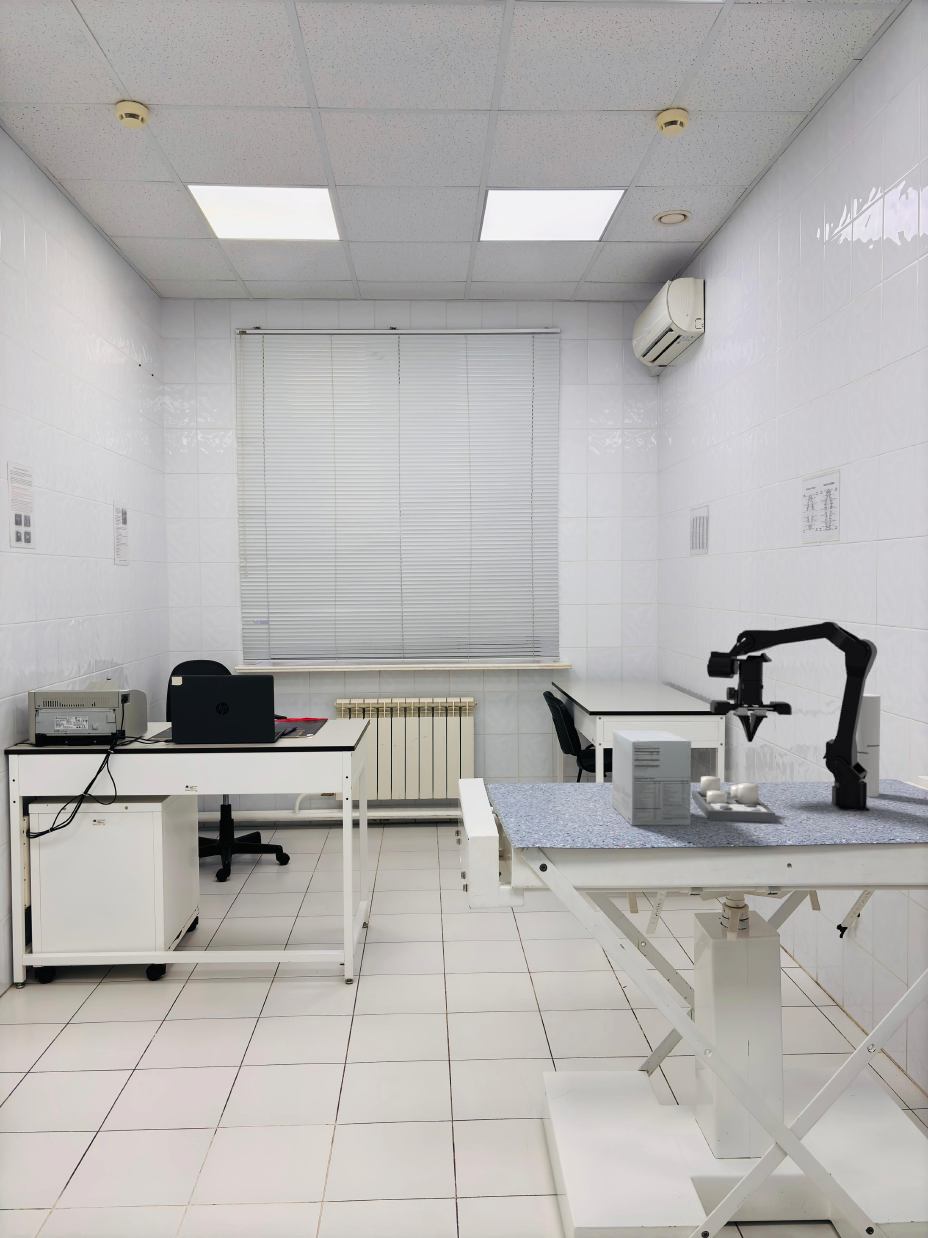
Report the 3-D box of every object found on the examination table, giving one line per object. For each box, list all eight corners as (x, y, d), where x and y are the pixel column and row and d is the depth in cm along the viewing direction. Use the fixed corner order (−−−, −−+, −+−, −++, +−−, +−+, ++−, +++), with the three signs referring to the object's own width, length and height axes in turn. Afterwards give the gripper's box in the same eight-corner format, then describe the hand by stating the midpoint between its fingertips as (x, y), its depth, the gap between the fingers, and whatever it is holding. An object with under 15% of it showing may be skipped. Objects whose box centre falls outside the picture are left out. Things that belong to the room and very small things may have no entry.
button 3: (747, 802, 194) (747, 785, 194) (752, 806, 189) (752, 789, 189) (728, 801, 194) (728, 784, 194) (733, 805, 190) (733, 788, 190)
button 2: (724, 808, 187) (724, 790, 187) (728, 812, 183) (728, 795, 183) (704, 807, 188) (704, 790, 188) (708, 812, 183) (708, 794, 183)
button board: (751, 800, 195) (751, 790, 195) (775, 822, 175) (775, 811, 175) (691, 798, 197) (692, 789, 197) (708, 820, 177) (709, 809, 177)
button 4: (755, 800, 187) (755, 783, 187) (760, 805, 182) (760, 787, 182) (735, 800, 187) (736, 783, 187) (740, 804, 183) (740, 787, 183)
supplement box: (692, 826, 172) (693, 741, 171) (630, 826, 171) (631, 741, 171) (666, 806, 189) (667, 729, 189) (610, 807, 188) (611, 729, 188)
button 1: (717, 793, 194) (717, 776, 194) (721, 797, 190) (721, 780, 190) (698, 792, 195) (699, 776, 195) (702, 796, 190) (702, 779, 190)
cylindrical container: (884, 797, 201) (886, 696, 200) (855, 796, 201) (857, 696, 200) (870, 790, 208) (871, 693, 208) (842, 790, 208) (843, 693, 208)
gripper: (779, 677, 210) (778, 737, 210) (706, 676, 212) (705, 736, 212) (792, 681, 199) (791, 745, 199) (715, 680, 201) (714, 743, 201)
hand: (749, 741), depth 203 cm, fingers closed
